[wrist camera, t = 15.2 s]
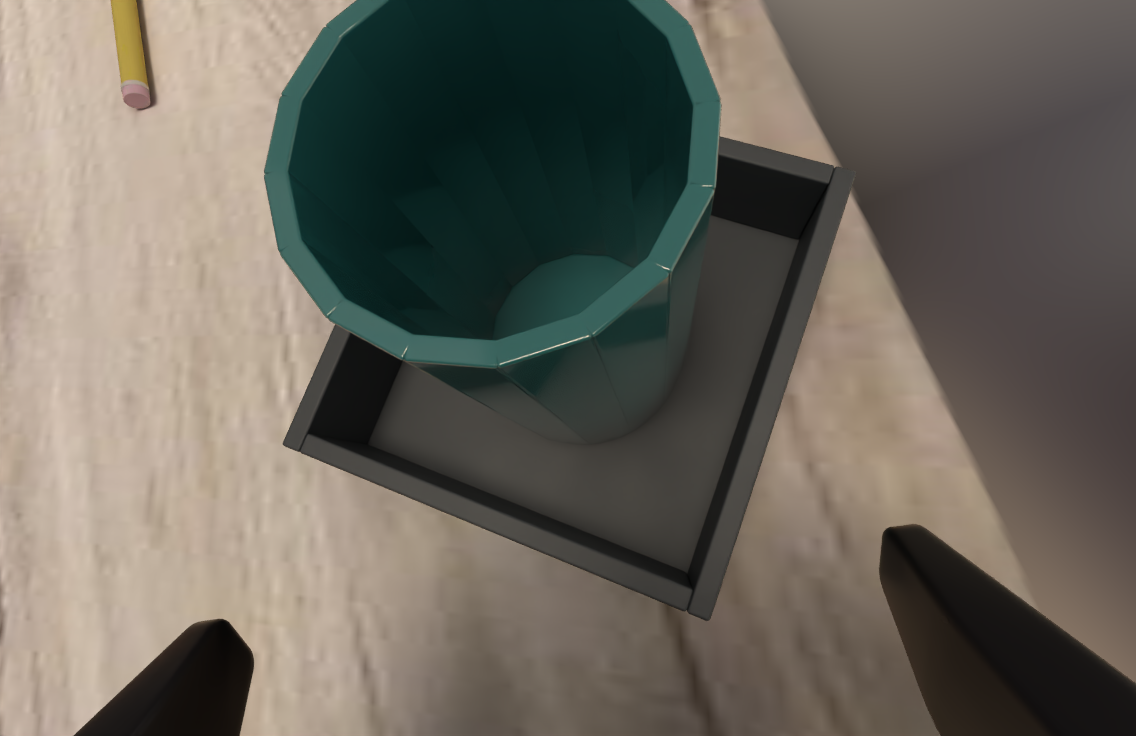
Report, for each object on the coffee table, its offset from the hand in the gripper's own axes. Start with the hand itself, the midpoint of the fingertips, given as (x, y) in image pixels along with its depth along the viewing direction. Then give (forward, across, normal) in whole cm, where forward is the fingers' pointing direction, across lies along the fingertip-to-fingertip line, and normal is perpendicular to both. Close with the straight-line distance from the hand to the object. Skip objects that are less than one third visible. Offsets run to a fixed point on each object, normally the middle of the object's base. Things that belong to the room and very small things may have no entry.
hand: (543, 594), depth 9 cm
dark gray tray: (+14, 0, +5) cm, 14 cm away
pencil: (+28, +18, -10) cm, 35 cm away
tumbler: (+13, 0, +4) cm, 14 cm away
